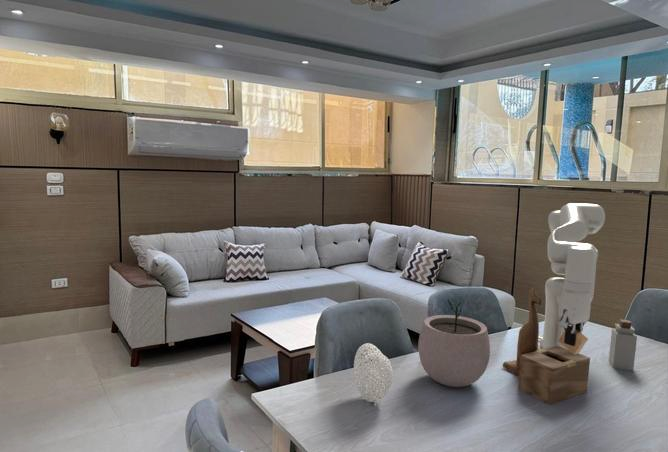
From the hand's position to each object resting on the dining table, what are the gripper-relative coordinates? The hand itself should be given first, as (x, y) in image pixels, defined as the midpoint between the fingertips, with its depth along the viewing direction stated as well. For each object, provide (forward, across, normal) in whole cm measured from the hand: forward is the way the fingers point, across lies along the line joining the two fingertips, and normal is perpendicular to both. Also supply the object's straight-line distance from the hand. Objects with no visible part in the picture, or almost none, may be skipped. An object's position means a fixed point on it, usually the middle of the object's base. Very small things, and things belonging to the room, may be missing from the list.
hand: (572, 343), depth 140 cm
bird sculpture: (+21, -9, -22) cm, 32 cm away
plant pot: (+21, +22, -28) cm, 41 cm away
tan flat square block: (0, 0, +3) cm, 3 cm away
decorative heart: (+20, +55, -30) cm, 66 cm away
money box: (+21, -5, -8) cm, 23 cm away
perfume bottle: (+21, -49, -9) cm, 54 cm away
